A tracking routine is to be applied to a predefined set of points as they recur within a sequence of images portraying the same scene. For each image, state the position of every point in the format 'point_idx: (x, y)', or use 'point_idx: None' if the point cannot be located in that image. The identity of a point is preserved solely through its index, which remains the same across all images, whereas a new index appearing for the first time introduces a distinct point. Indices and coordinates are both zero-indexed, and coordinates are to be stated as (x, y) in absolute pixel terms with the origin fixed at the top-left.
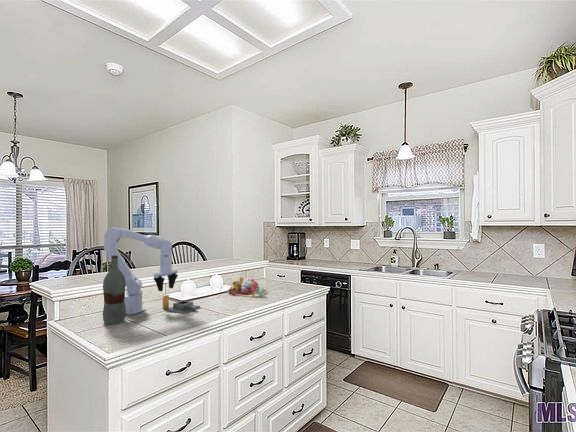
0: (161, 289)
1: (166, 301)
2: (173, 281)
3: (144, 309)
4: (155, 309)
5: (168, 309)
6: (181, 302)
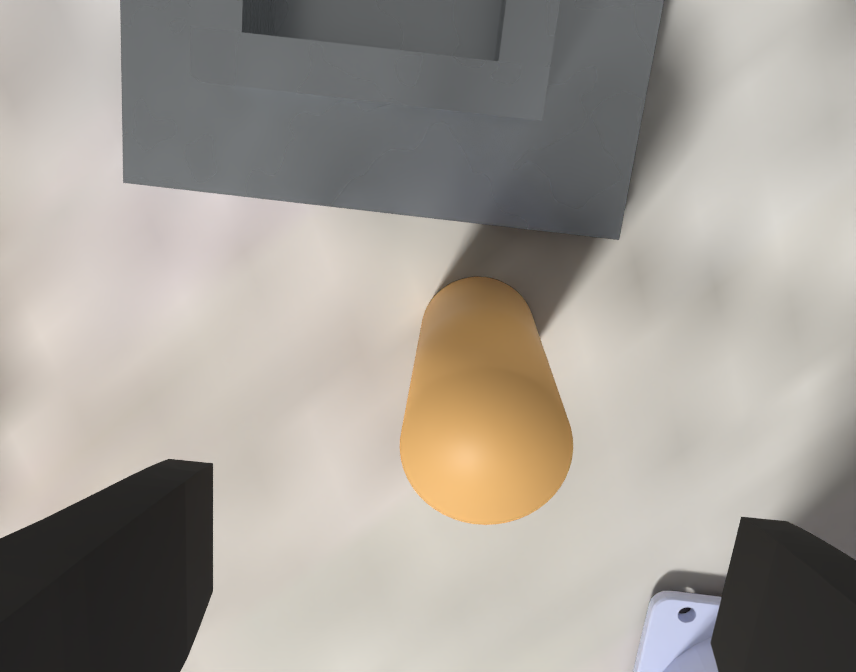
0: (842, 555)
1: (528, 335)
2: (38, 599)
3: (678, 614)
4: (565, 479)
5: (633, 162)
6: (301, 42)
